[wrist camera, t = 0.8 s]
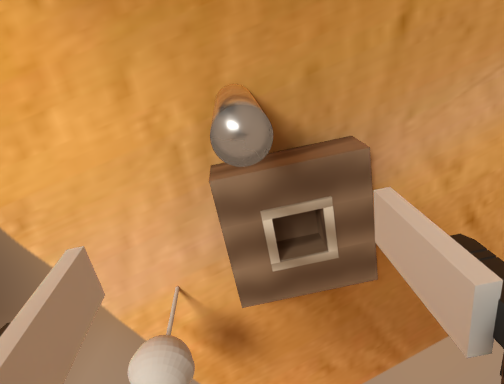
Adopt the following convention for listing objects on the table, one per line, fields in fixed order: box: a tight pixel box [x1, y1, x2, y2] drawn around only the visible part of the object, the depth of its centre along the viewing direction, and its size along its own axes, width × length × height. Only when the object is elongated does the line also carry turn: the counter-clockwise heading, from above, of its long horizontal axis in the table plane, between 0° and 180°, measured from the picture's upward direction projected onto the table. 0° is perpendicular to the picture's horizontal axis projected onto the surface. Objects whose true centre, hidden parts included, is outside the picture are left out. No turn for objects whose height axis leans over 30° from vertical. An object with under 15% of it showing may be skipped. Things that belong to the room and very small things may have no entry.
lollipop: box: [128, 286, 195, 384], centre depth 37 cm, size 6×6×15 cm
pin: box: [210, 84, 273, 167], centre depth 29 cm, size 4×4×15 cm
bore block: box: [209, 136, 378, 308], centre depth 38 cm, size 16×16×5 cm
